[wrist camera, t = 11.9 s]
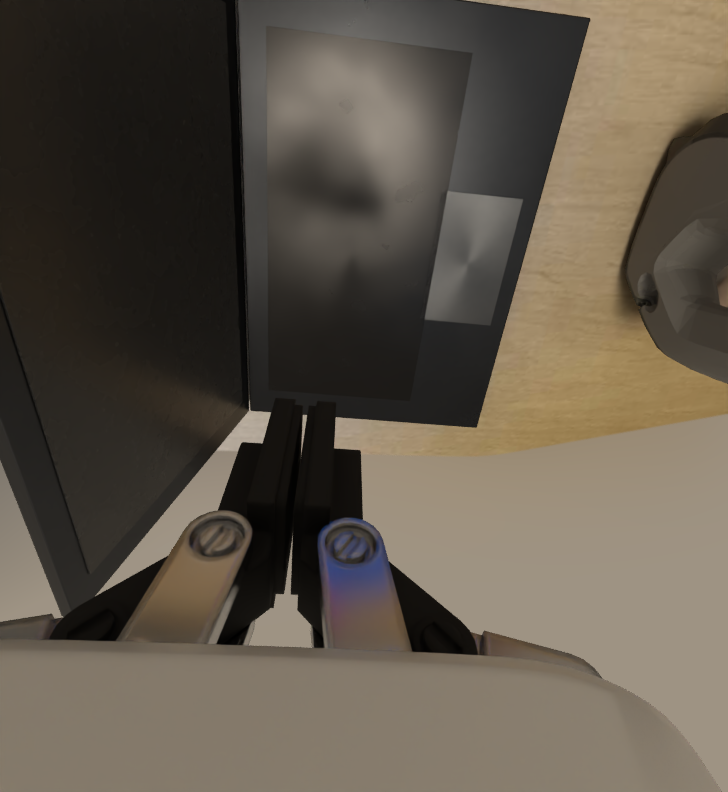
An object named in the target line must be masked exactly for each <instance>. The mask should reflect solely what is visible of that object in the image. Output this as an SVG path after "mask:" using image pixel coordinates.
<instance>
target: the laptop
mask: <svg viewBox="0 0 728 792" xmlns="http://www.w3.org/2000/svg"><path fill="white" fill-rule="evenodd" d="M237 4H238V36H239V67H240V98H241V130H242V161H243V192H244V223H245V255H246V286H247V317H248V349H249V380H250V410H251V411H263V412H272V408H273V405H274V401H275V398H286V399H296V405H303V415H308V408H309V405H310V406H316V405H317V401H325V402H336V417H342V418H355V419H369V420H382V421H395V422H408V423H422V424H435V425H448V426H461V427H474V428H476V427H477V424H478V420H479V417H480V413H481V410H482V406H483V402H484V399H485V395H486V392H487V388H488V385H489V381H490V377H491V374H492V370H493V367H494V363H495V359H496V356H497V352H498V349H499V345H500V341H501V338H502V334H503V331H504V327H505V323H506V320H507V316H508V313H509V309H510V306H511V302H512V298H513V295H514V291H515V288H516V284H517V280H518V277H519V273H520V270H521V266H522V262H523V259H524V255H525V252H526V248H527V245H528V241H529V237H530V234H531V230H532V227H533V223H534V219H535V216H536V212H537V209H538V205H539V201H540V198H541V194H542V191H543V187H544V183H545V180H546V176H547V173H548V169H549V166H550V162H551V158H552V155H553V151H554V148H555V144H556V140H557V137H558V133H559V130H560V126H561V122H562V119H563V115H564V112H565V108H566V105H567V101H568V97H569V94H570V90H571V87H572V83H573V79H574V76H575V72H576V69H577V65H578V61H579V58H580V54H581V51H582V47H583V43H584V40H585V36H586V33H587V29H588V26H589V22H590V18H586V17H579V16H572V15H564V14H557V13H550V12H543V11H536V10H529V9H521V8H514V7H507V6H500V5H493V4H486V3H478V2H471V1H464V0H237Z"/></svg>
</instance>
